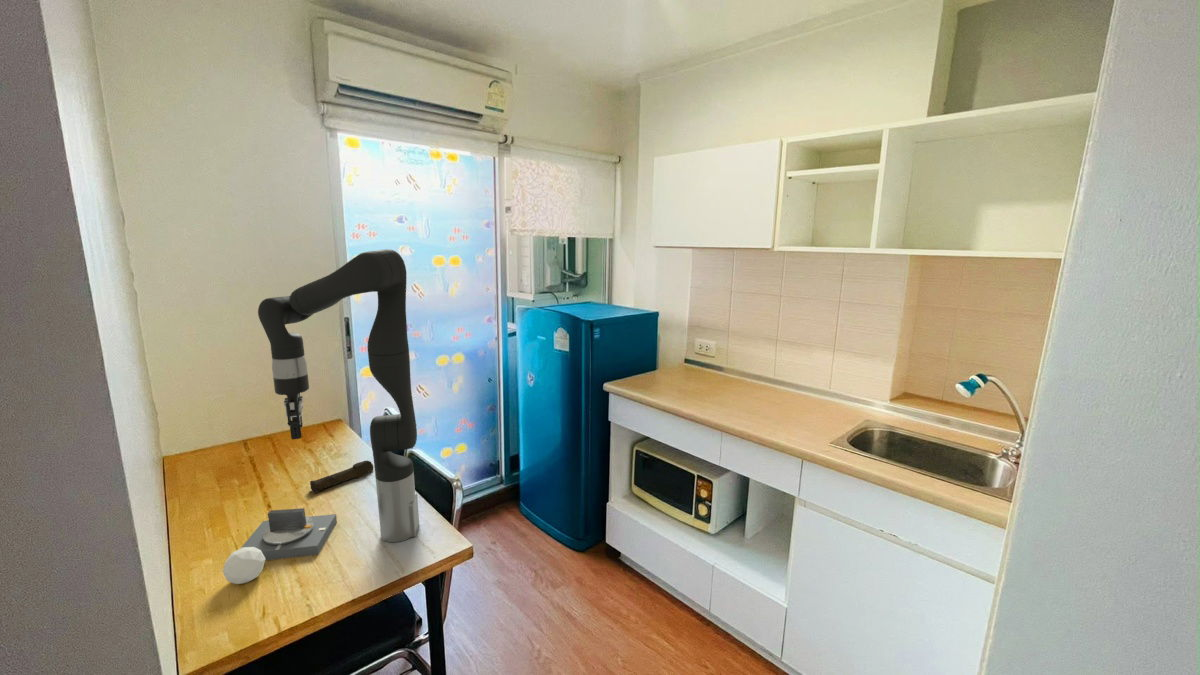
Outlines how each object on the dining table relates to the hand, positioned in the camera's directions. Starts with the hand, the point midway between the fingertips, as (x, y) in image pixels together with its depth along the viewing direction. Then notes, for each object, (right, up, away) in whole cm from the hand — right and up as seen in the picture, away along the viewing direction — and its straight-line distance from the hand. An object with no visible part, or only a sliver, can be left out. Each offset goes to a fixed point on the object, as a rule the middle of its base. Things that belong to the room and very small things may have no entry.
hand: (297, 433), depth 125 cm
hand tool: (-3, -22, +29) cm, 37 cm away
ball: (-2, -31, -15) cm, 35 cm away
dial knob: (-1, -25, -2) cm, 25 cm away
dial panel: (-1, -28, -2) cm, 28 cm away
